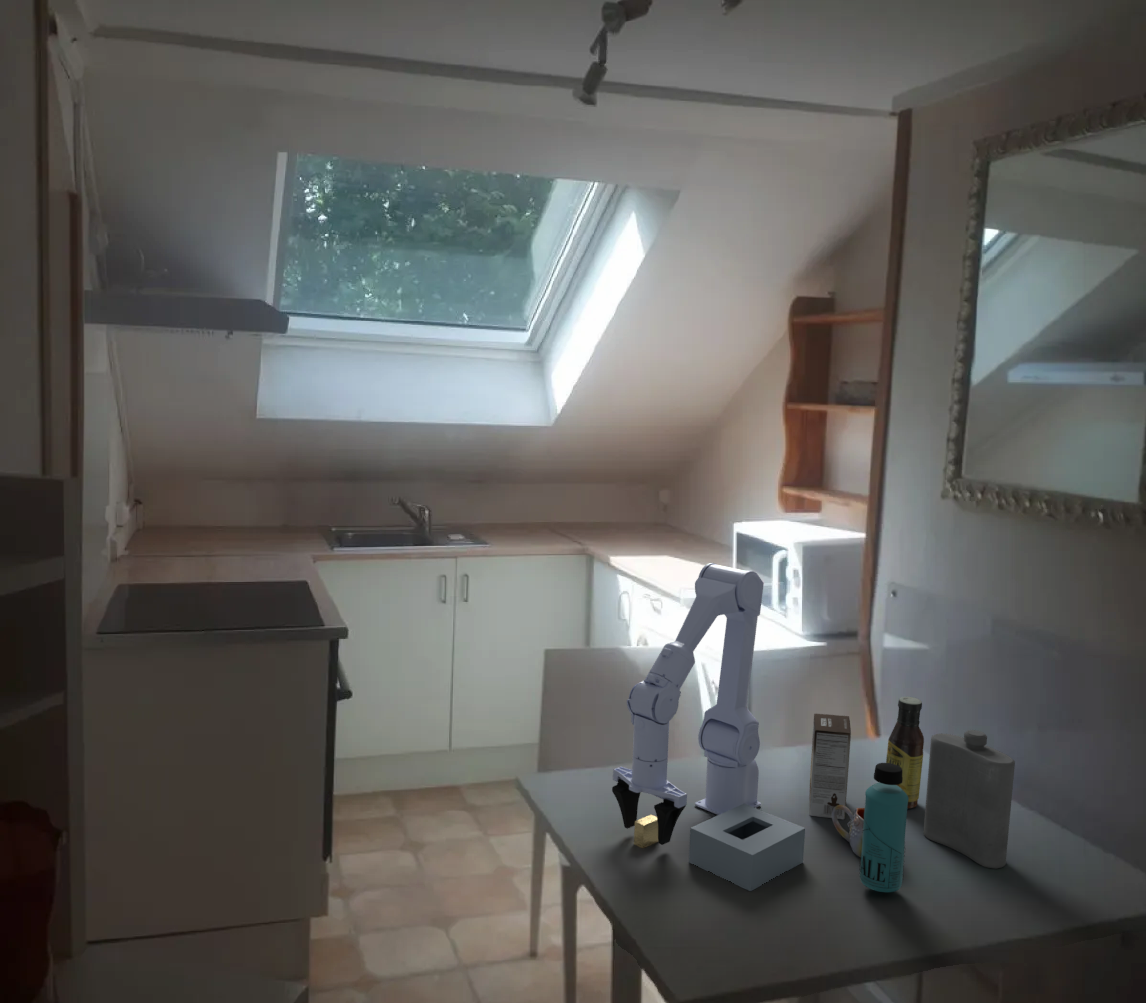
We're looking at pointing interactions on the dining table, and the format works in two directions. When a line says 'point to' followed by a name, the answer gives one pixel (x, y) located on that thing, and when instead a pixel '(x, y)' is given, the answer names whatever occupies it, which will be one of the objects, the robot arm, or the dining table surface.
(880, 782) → the beverage bottle
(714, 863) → the grey block with hole
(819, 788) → the coffee box
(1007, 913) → the dining table surface
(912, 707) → the sauce bottle
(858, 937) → the dining table surface
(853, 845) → the mug
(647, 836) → the brass block
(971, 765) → the flask
